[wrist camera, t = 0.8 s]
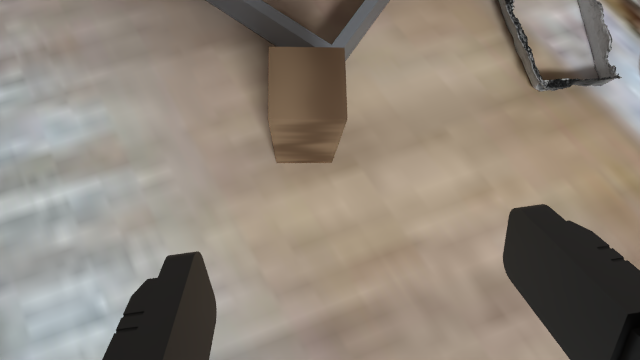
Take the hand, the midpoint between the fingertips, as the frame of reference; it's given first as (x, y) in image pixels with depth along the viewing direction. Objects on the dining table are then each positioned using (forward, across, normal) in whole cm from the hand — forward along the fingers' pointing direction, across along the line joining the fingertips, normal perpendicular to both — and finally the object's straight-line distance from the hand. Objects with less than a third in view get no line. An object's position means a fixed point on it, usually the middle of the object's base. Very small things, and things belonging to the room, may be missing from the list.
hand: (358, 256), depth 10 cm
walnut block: (+26, +1, +7) cm, 26 cm away
